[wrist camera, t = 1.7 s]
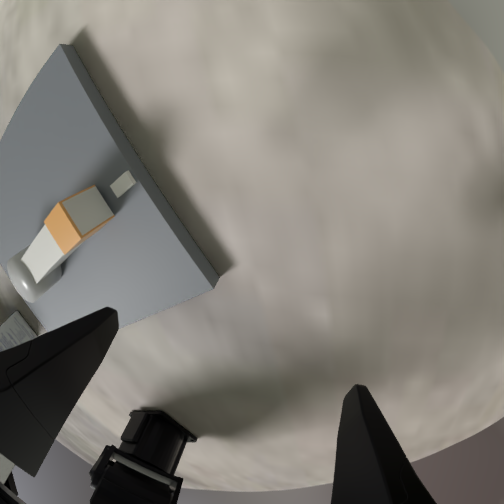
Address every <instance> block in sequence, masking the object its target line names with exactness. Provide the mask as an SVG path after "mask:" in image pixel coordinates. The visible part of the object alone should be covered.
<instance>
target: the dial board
mask: <svg viewBox="0 0 504 504" xmlns="http://www.w3.org/2000/svg"><path fill="white" fill-rule="evenodd" d="M93 185H95V186H96V187H97V189H98V191H99V192H100V194H101V196H102V197H103V199H104V200H105V202H106V203H107V205H108V206H109V208H110V210H111V211H112V213H113V214H114V216H115V217H114V218H112V219H111V220H110V221H109V222H108V223H107V224H105V225H104V226H103V227H102V228H101V229H100V230H99V231H97V232H96V233H95V234H93V235H92V236H91V237H89V238H88V239H86V240H85V241H84V242H83V243H82V244H81V245H80V246H79V247H78V248H77V249H76V250H75V251H74V252H73V253H72V254H71V255H70V256H69V257H68V258H67V259H66V260H65V261H64V262H63V263H62V264H61V270H62V275H61V278H60V280H59V281H58V282H56V283H55V284H54V285H53V286H52V287H51V288H50V289H48V290H47V291H46V292H45V293H44V294H43V295H42V296H41V297H39V298H38V299H37V300H36V301H35V302H34V303H30V302H28V301H26V300H25V299H24V298H23V297H22V296H21V297H22V298H23V300H24V301H25V302H26V304H27V305H28V307H29V308H30V309H31V311H32V312H33V314H34V315H35V316H36V317H37V319H38V320H39V321H40V323H41V324H42V325H43V327H44V328H45V329H46V330H47V332H50V331H52V330H54V329H56V328H59V327H61V326H63V325H65V324H68V323H70V322H72V321H75V320H77V319H79V318H81V317H84V316H86V315H88V314H91V313H93V312H95V311H97V310H100V309H102V308H104V307H111V308H113V309H115V310H117V312H118V320H119V329H120V328H122V327H124V326H127V325H129V324H132V323H134V322H137V321H139V320H141V319H144V318H146V317H149V316H151V315H153V314H156V313H158V312H160V311H163V310H165V309H168V308H170V307H172V306H175V305H177V304H179V303H182V302H184V301H186V300H189V299H191V298H193V297H196V296H198V295H200V294H203V293H205V292H207V291H210V290H212V289H214V287H215V285H216V283H217V282H218V280H219V278H220V277H219V276H218V274H217V273H216V272H215V270H214V269H213V267H212V266H211V264H210V263H209V262H208V260H207V259H206V257H205V256H204V255H203V253H202V252H201V250H200V249H199V247H198V246H197V244H196V243H195V242H194V240H193V239H192V237H191V236H190V234H189V233H188V231H187V230H186V228H185V227H184V225H183V224H182V223H181V221H180V220H179V218H178V217H177V215H176V214H175V212H174V211H173V209H172V208H171V206H170V205H169V203H168V202H167V200H166V199H165V197H164V196H163V194H162V193H161V191H160V190H159V188H158V186H157V185H156V183H155V182H154V180H153V179H152V177H151V176H150V174H149V173H148V171H147V169H146V168H145V166H144V165H143V163H142V162H141V160H140V159H139V157H138V155H137V154H136V152H135V151H134V149H133V147H132V146H131V144H130V143H129V141H128V139H127V138H126V136H125V135H124V133H123V131H122V130H121V128H120V126H119V125H118V123H117V121H116V120H115V118H114V117H113V115H112V113H111V112H110V110H109V108H108V107H107V105H106V103H105V101H104V100H103V98H102V96H101V95H100V93H99V91H98V90H97V88H96V86H95V84H94V83H93V81H92V79H91V77H90V76H89V74H88V72H87V70H86V69H85V67H84V65H83V63H82V61H81V60H80V58H79V56H78V54H77V52H76V51H75V49H74V47H73V45H66V44H59V46H58V47H57V48H56V50H55V51H54V52H53V53H52V55H51V56H50V58H49V59H48V60H47V62H46V63H45V64H44V66H43V67H42V69H41V70H40V72H39V73H38V75H37V76H36V78H35V79H34V81H33V82H32V84H31V85H30V87H29V89H28V90H27V92H26V94H25V95H24V97H23V99H22V100H21V102H20V104H19V106H18V107H17V109H16V111H15V113H14V115H13V117H12V118H11V120H10V122H9V124H8V126H7V128H6V130H5V132H4V134H3V137H2V139H1V141H0V264H1V266H2V267H3V269H4V271H5V272H6V274H7V275H8V277H9V274H8V270H7V262H8V260H9V259H10V258H12V257H13V256H15V255H16V254H17V253H19V252H20V251H22V250H23V249H25V248H26V247H28V246H29V245H30V244H31V243H32V242H33V241H34V239H35V238H36V236H37V235H38V233H39V232H40V231H41V229H42V228H43V226H44V225H45V223H44V220H45V219H46V218H47V216H48V215H49V214H50V212H51V211H52V210H53V208H54V207H55V206H56V204H57V203H58V202H60V201H62V200H64V199H66V198H68V197H70V196H72V195H74V194H76V193H78V192H80V191H82V190H84V189H86V188H88V187H91V186H93ZM9 279H10V277H9Z"/></svg>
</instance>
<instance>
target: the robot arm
mask: <svg viewBox="0 0 504 504" xmlns="http://www.w3.org/2000/svg"><path fill="white" fill-rule="evenodd" d="M118 329H119V320H118V312H117V310H115V309H113V308H111V307H104V308H102V309H100V310H97V311H95V312H93V313H91V314H88V315H86V316H84V317H81V318H79V319H77V320H75V321H72V322H70V323H68V324H65V325H63V326H61V327H59V328H56V329H54V330H52V331H50V332H47V333H45V334H43V335H41V336H38V337H36V338H34V339H33V340H29V341H27V342H25V343H22V344H20V345H17V346H15V347H12V348H9V349H7V350H4V351H1V352H0V504H26V503H25V502H23V501H22V500H21V499H20V498H19V497H17V495H18V492H17V489H16V486H15V482H14V478H13V474H12V469H13V468H14V466H15V465H17V466H18V467H19V468H21V469H22V470H24V471H25V472H27V473H28V474H30V475H31V476H33V477H35V476H36V474H37V472H38V470H39V468H40V466H41V464H42V463H43V460H44V459H45V457H46V455H47V453H48V451H49V450H50V448H51V446H52V444H53V442H54V439H55V438H56V437H57V435H58V433H59V431H60V430H61V428H62V426H63V424H64V423H65V421H66V419H67V418H68V416H69V414H70V413H71V411H72V409H73V408H74V406H75V404H76V403H77V401H78V399H79V398H80V396H81V394H82V393H83V391H84V390H85V388H86V386H87V385H88V383H89V382H90V380H91V378H92V377H93V375H94V374H95V372H96V371H97V369H98V368H99V366H100V364H101V363H102V361H103V359H104V357H105V355H106V353H107V351H108V349H109V347H110V345H111V343H112V341H113V339H114V337H115V335H116V333H117V331H118ZM129 416H130V417H131V419H130V421H129V422H128V424H127V426H126V428H125V430H124V432H123V434H122V436H121V440H122V443H121V445H120V447H119V449H118V448H116V447H115V446H114V445H112V446H108V445H106V446H105V448H104V450H103V452H102V454H101V455H100V457H99V459H98V460H97V462H96V463H95V464H94V466H93V468H92V469H91V470H90V472H89V474H90V476H91V485H90V487H91V488H93V489H94V490H95V491H94V493H93V495H92V497H91V499H90V504H177V500H178V497H179V493H180V489H181V486H182V482H183V478H181V477H176V476H174V474H175V471H176V468H177V466H178V463H179V461H180V458H181V456H182V453H183V450H184V448H185V445H186V443H187V442H196V441H197V438H196V437H194V436H193V435H192V434H190V433H189V432H188V431H186V430H185V429H184V428H183V427H181V426H180V425H179V424H177V423H176V422H175V421H174V420H172V419H171V418H170V417H169V416H168V415H166V414H165V413H164V412H162V411H145V412H130V414H129ZM113 459H115V460H117V461H116V462H113V461H112V460H113ZM331 504H437V503H436V502H435V501H434V499H433V498H432V496H431V495H430V494H429V492H428V491H427V489H426V488H425V486H424V485H423V483H422V482H421V480H420V479H419V478H418V476H417V474H416V473H415V471H414V469H413V467H412V466H411V464H410V462H409V460H408V459H407V458H406V455H405V453H404V451H403V450H402V448H401V446H400V444H399V442H398V441H397V439H396V437H395V435H394V434H393V432H392V430H391V428H390V426H389V425H388V423H387V421H386V419H385V418H384V416H383V414H382V412H381V411H380V409H379V407H378V406H377V404H376V402H375V400H374V399H373V397H372V395H371V394H370V392H369V390H368V388H367V387H366V386H364V385H359V384H355V385H354V386H353V387H352V388H351V390H350V391H349V392H348V393H347V394H346V396H345V398H344V400H343V406H342V413H341V419H340V424H339V430H338V437H337V449H336V462H335V472H334V482H333V491H332V499H331Z"/></svg>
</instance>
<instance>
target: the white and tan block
mask: <svg viewBox="0 0 504 504" xmlns="http://www.w3.org/2000/svg"><path fill="white" fill-rule="evenodd" d="M114 217H115V216H114V214H113V213H112V211H111V210H110V208H109V206H108V205H107V203H106V202H105V200H104V199H103V197H102V196H101V194H100V192H99V191H98V189H97V187H96V186H95V185H93V186H91V187H88V188H86V189H84V190H82V191H80V192H78V193H76V194H74V195H72V196H70V197H68V198H66V199H64V200H62V201H60V202H58V203H57V204H56V206H55V207H54V208H53V210H52V211H51V212H50V214H49V215H48V216H47V218H46V219H45V220H44V223H45V225H44V226H43V228H42V229H41V231H40V232H39V233H38V235H37V236H36V238H35V239H34V241H33V242H32V243H31V244H30V245H29V246H28V247H26V248H25V249H23V250H22V251H20V252H19V253H17V254H16V255H15V256H13V257H12V258H10V259H9V260H8V262H7V270H8V274H9V277H10V280H11V282H12V284H13V286H14V287H15V289H16V290H17V292H18V293H19V294H20V295H21V296H22V297H23V298H24V299H25V300H26V301H28V302H30V303H34V302H35V301H36V300H37V299H38V298H39V297H41V296H42V295H43V294H44V293H45V292H46V291H47V290H48V289H50V288H51V287H52V286H53V285H54V284H55V283H56V282H58V281H59V280H60V278H61V275H62V270H61V264H62V263H63V262H64V261H65V260H66V259H67V258H68V257H69V256H70V255H71V254H72V253H73V252H74V251H75V250H76V249H77V248H78V247H79V246H80V245H81V244H82V243H83V242H84V241H85V240H86V239H88V238H89V237H91V236H92V235H93V234H95V233H96V232H97V231H99V230H100V229H101V228H102V227H103V226H104V225H105V224H107V223H108V222H109V221H110V220H111V219H112V218H114Z"/></svg>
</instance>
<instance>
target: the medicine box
mask: <svg viewBox="0 0 504 504" xmlns="http://www.w3.org/2000/svg"><path fill="white" fill-rule="evenodd" d="M36 337H37V335H36V334H35V332H34V331H33V330H32V328H31V327H30V326H29V325H28V323H27V322H26V321H25V320H24V318H23V317H22V316H21V314H20V313H19V311H15V312H14V313H13V314H12V315H11V316H10V317H9V318H8V319H7V320H6V321H5V322H4V323H3V324H2V325H1V326H0V352H1V351H4V350H7V349H9V348H12V347H15V346H17V345H20V344H22V343H25V342H27V341H29V340H33V339H34V338H36Z"/></svg>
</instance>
